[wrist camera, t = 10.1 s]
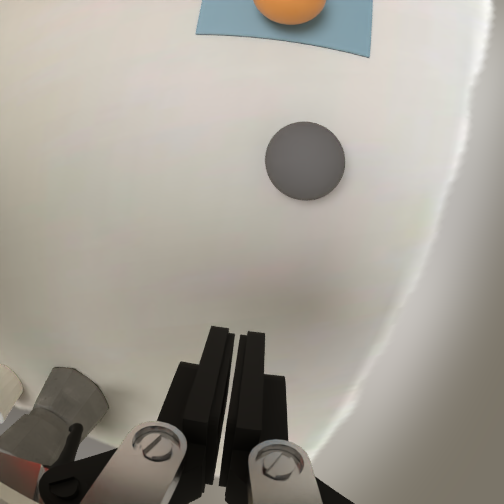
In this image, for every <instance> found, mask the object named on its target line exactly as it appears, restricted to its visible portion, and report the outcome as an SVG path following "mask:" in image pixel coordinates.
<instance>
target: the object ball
mask: <svg viewBox="0 0 504 504" xmlns="http://www.w3.org/2000/svg"><path fill="white" fill-rule="evenodd" d="M253 2H254V4H255V6H256V7H257V9H258V10H259V11H260V12H261V13H262V14H263V15H264V16H265V17H267V18H268V19H270V20H272V21H274V22H277V23H280V24H286V25H296V24H302V23H305V22H308V21H310V20H312V19H313V18H315V17H316V16H317V15H318V14H319V13H320V12H321V11H322V9H323V8H324V6H325V3H326V0H253Z"/></svg>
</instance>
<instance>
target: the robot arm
mask: <svg viewBox="0 0 504 504" xmlns="http://www.w3.org/2000/svg"><path fill="white" fill-rule="evenodd" d="M234 338H235V334H232V333H229V328H223V327H216V326H211V329H210V332H209V335H208V338H207V341H206V344H205V348H204V351H203V354H202V357H201V360H200V364H199V365H198V364H192V363H187V362H180V364H179V366H178V368H177V371H176V373H175V376H174V378H173V381H172V383H171V386H170V388H169V391H168V394H167V396H166V399H165V401H164V404H163V406H162V409H161V412H160V414H159V417H158V419H157V421H149V422H145V423H141V424H139V425H137V426H135V427H134V428H133V429H132V430H131V431H130V432H129V433H128V434H127V436H126V437H125V439H124V440H123V442H122V443H121V444H120V446H119V447H118V448H116V449H113V450H110V451H107V452H104V453H101V454H98V455H95V456H91V457H88V458H85V459H81V460H78V461H74V462H70V463H67V464H63V465H59V466H56V467H53V468H51V469H48V468H44V467H43V466H42V464H39V463H36V462H32V461H28V460H25V459H21V458H18V457H15V456H11V455H8V454H5V453H2V452H0V504H189V503H190V502H192V501H194V500H196V499H198V498H200V497H201V495H202V493H204V489H205V484H209V485H213V480H214V474H215V468H216V462H217V456H218V450H219V444H220V438H221V432H222V426H223V420H224V414H225V408H226V402H227V395H228V387H229V379H230V370H231V362H232V354H233V346H234ZM264 354H265V333H259V332H251V331H248V333H247V335H240V340H239V347H238V353H237V360H236V366H235V373H234V379H233V386H232V392H231V398H230V405H229V411H228V418H227V425H226V432H225V440H224V448H223V455H222V463H221V471H220V479H219V486H223V487H226V492H225V501H226V502H227V503H228V504H354V503H353V502H351V501H350V500H348V499H347V498H345V497H344V496H342V495H341V494H339V493H338V492H336V491H335V490H333V489H332V488H330V487H329V486H328V485H326V484H325V483H323V482H322V481H320V480H319V479H318V478H316V477H315V475H314V472H313V468H312V465H311V461H310V459H309V457H308V455H307V453H306V452H305V451H304V450H303V449H302V448H301V447H300V446H298V445H296V444H295V443H293V442H289V441H288V425H287V403H286V383H285V377H284V376H277V375H268V374H264Z"/></svg>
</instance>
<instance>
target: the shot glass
mask: <svg viewBox="0 0 504 504" xmlns="http://www.w3.org/2000/svg"><path fill="white" fill-rule="evenodd" d="M22 392H23V386H22V384H21V381H20V380H19V378H18V377H17V376H16V374H15V373H14V372H13V371H12V370H11V369H10V368H8V367H7V366H5V365H2V364H0V423H3V422H4V420H5V419H6V417H7V415H8V414H9V412H10V411H11V409H12V408H13V406H14V404H15V403H16V401H17V400H18V398H19V397H20V395H21V394H22Z"/></svg>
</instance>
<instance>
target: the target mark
mask: <svg viewBox="0 0 504 504" xmlns="http://www.w3.org/2000/svg"><path fill="white" fill-rule="evenodd" d="M372 3H373V0H326V3H325V6H324V8H323V9H322V11H321V12H320V13H319V14H318V15H317V16H316V17H315V18H313V19H312V20H310V21H308V22H305V23H302V24H296V25H286V24H280V23H277V22H274V21H272V20H270V19H268V18H267V17H265V16H264V15H263V14H262V13H261V12H260V11H259V10H258V9H257V7H256V6H255V4H254V2H253V0H202V4H201V9H200V14H199V19H198V24H197V29H196V34H200V35H229V36H244V37H256V38H266V39H274V40H282V41H289V42H296V43H302V44H308V45H314V46H320V47H325V48H330V49H335V50H339V51H344V52H348V53H352V54H357V55H361V56H365V57H368V58H369V57H370V44H371V27H372Z"/></svg>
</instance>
